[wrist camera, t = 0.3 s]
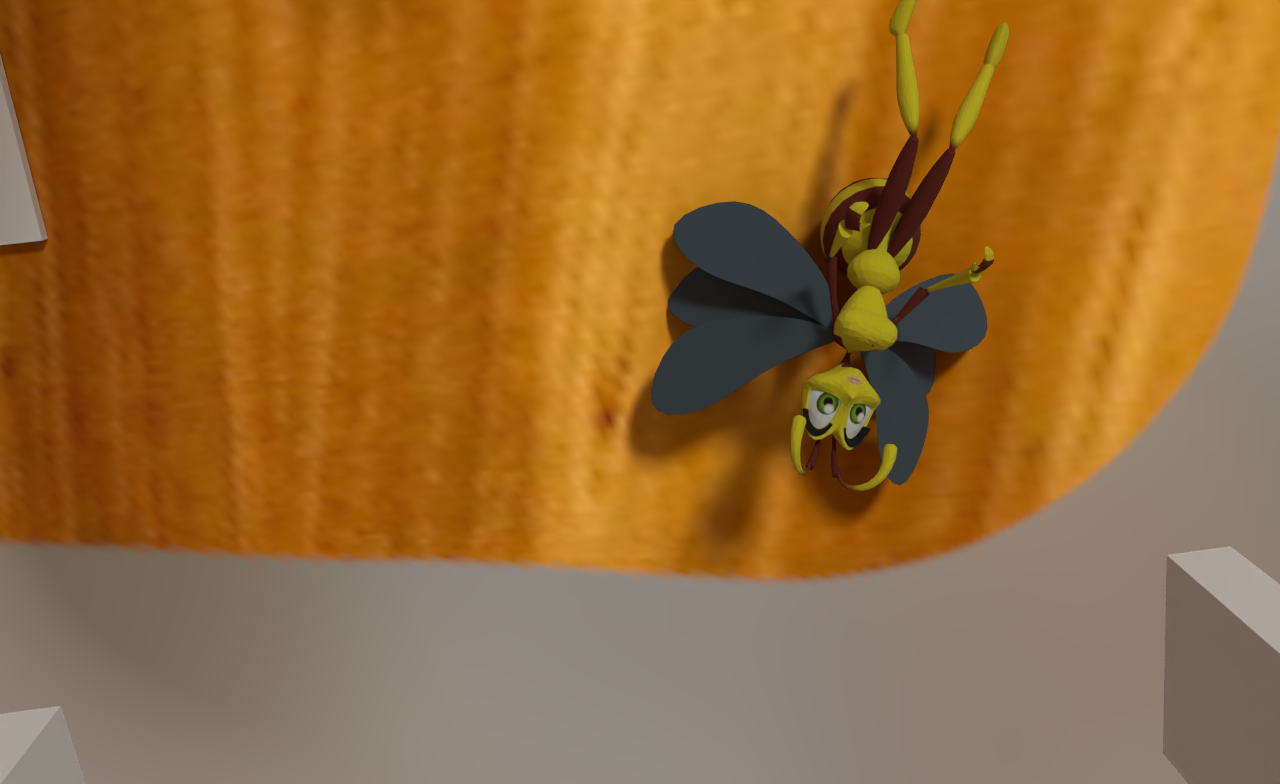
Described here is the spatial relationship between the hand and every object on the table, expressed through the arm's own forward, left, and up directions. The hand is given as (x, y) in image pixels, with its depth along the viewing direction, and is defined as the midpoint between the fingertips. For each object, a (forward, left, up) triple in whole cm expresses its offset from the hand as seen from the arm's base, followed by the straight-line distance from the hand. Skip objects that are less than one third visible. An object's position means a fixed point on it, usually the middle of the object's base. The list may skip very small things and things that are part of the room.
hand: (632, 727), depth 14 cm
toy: (-1, +9, -27) cm, 29 cm away
